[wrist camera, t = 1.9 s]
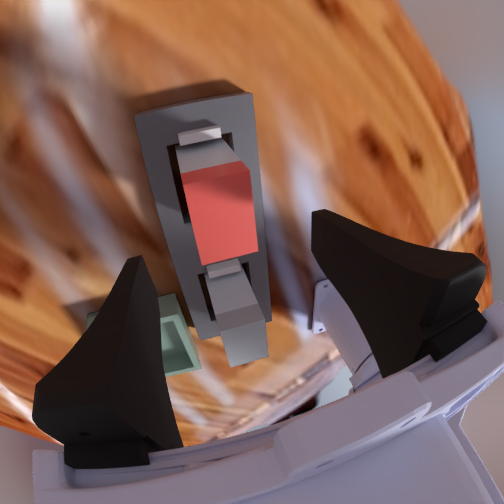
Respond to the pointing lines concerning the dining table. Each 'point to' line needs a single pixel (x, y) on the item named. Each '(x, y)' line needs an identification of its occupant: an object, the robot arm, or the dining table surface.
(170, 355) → the tray
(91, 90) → the dining table surface
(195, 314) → the fuse holder
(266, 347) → the block
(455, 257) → the robot arm
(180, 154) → the block
